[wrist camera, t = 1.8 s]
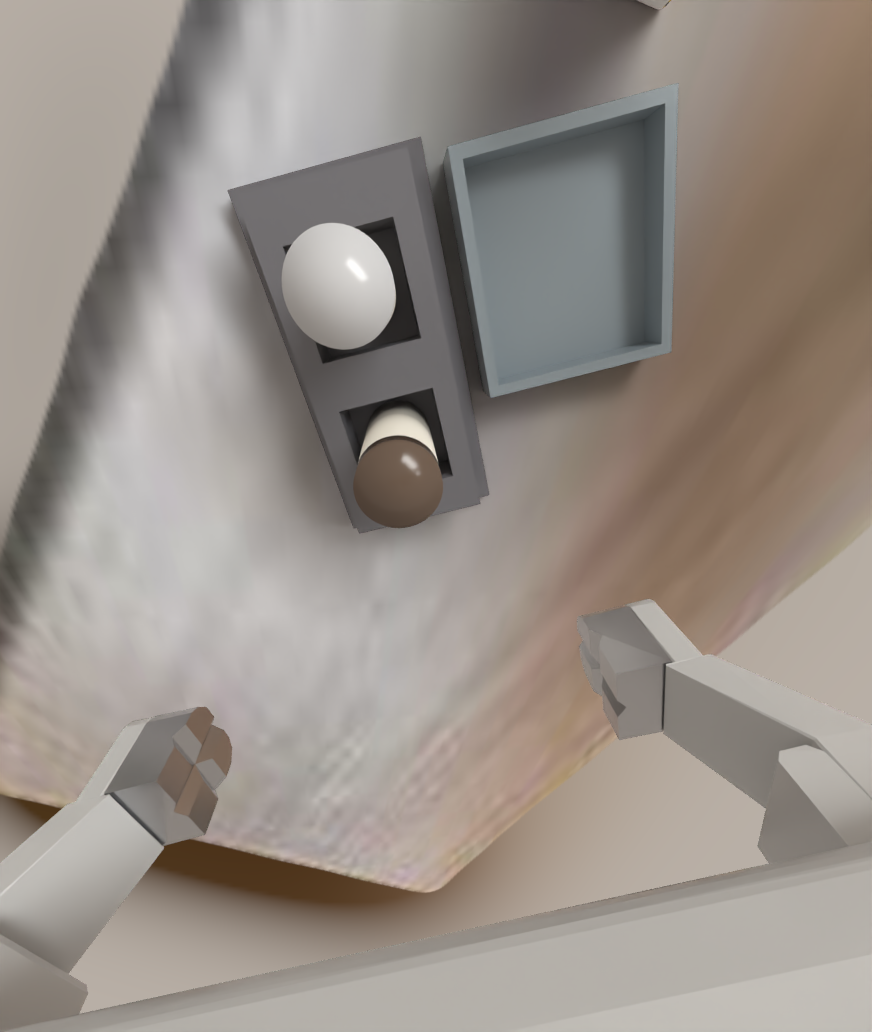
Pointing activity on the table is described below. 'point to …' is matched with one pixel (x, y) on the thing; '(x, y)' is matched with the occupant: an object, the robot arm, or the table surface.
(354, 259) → the dome-capped cream cylinder
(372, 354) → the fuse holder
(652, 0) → the medicine bottle
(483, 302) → the parts tray
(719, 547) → the table surface
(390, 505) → the cylinder
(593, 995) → the robot arm
